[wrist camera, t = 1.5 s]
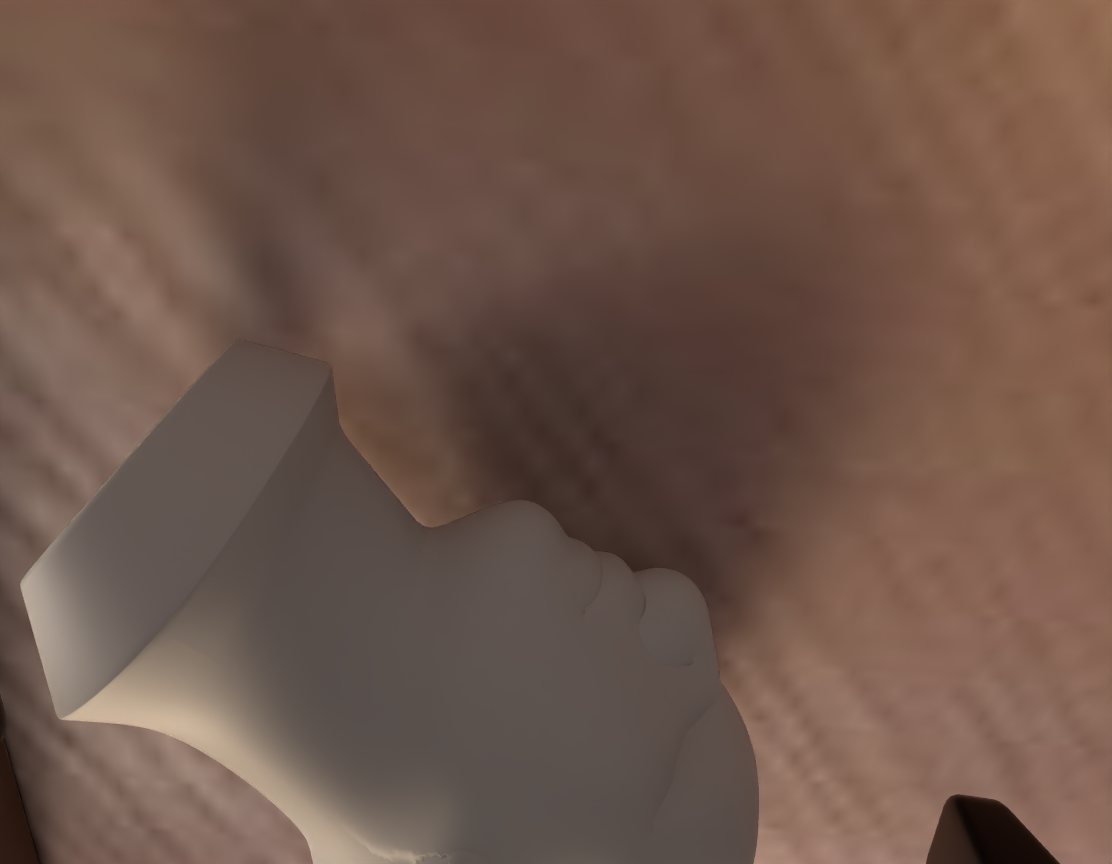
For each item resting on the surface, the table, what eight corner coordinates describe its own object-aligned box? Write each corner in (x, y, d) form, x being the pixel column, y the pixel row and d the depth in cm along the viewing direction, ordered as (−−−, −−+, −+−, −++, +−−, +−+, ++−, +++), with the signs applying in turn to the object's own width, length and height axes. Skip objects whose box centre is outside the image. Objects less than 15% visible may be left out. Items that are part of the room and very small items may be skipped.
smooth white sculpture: (780, 713, 12) (462, 908, 13) (444, 190, 10) (52, 447, 10) (956, 995, 8) (477, 1276, 8) (455, 219, 6) (-209, 655, 6)
